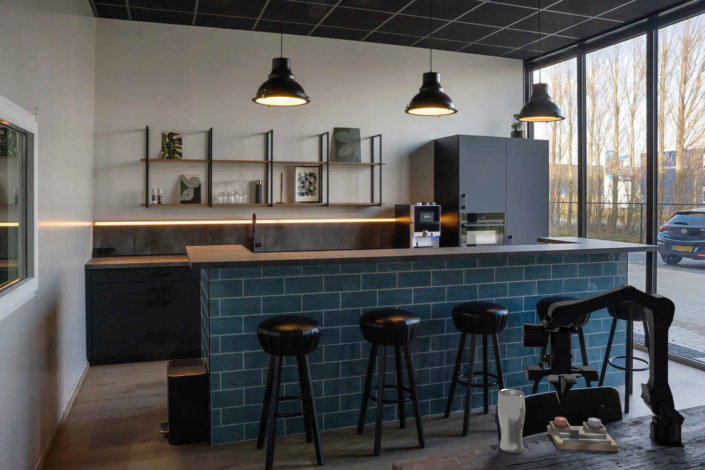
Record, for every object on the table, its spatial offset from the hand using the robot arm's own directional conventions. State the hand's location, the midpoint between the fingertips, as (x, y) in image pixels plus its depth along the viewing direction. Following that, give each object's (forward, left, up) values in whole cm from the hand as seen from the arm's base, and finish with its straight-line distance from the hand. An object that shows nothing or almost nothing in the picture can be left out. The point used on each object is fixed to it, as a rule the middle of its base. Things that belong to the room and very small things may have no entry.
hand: (561, 403), depth 150 cm
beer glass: (+15, +9, -9) cm, 20 cm away
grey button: (-9, 0, -6) cm, 11 cm away
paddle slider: (-2, +7, -7) cm, 10 cm away
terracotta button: (0, 0, -6) cm, 6 cm away
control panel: (-4, +3, -9) cm, 11 cm away
